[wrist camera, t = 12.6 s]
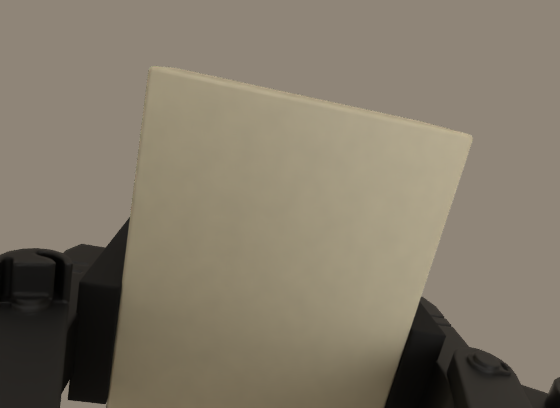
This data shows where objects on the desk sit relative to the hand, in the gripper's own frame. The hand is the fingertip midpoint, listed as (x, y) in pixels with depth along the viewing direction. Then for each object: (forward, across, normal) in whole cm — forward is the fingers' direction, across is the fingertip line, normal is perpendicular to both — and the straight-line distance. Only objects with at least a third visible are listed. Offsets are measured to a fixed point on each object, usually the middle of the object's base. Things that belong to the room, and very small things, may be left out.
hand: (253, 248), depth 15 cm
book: (-5, 0, -8) cm, 10 cm away
